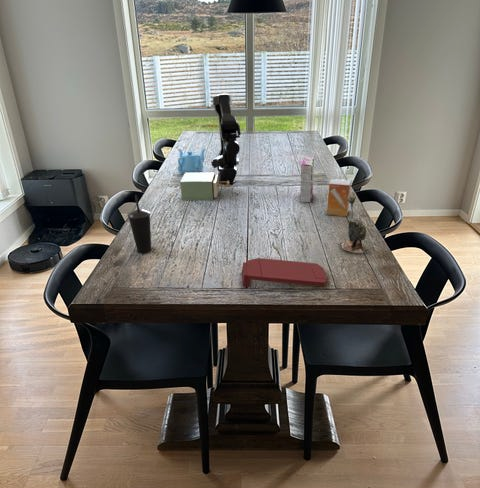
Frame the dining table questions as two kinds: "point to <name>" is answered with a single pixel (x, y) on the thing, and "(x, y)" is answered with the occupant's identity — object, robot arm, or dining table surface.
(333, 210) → the small box
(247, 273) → the red flat block
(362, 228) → the plant with pod
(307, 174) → the candy bar box
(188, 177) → the cabinet
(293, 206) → the dining table surface
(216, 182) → the drawer
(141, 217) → the drinking cup
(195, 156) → the teapot
